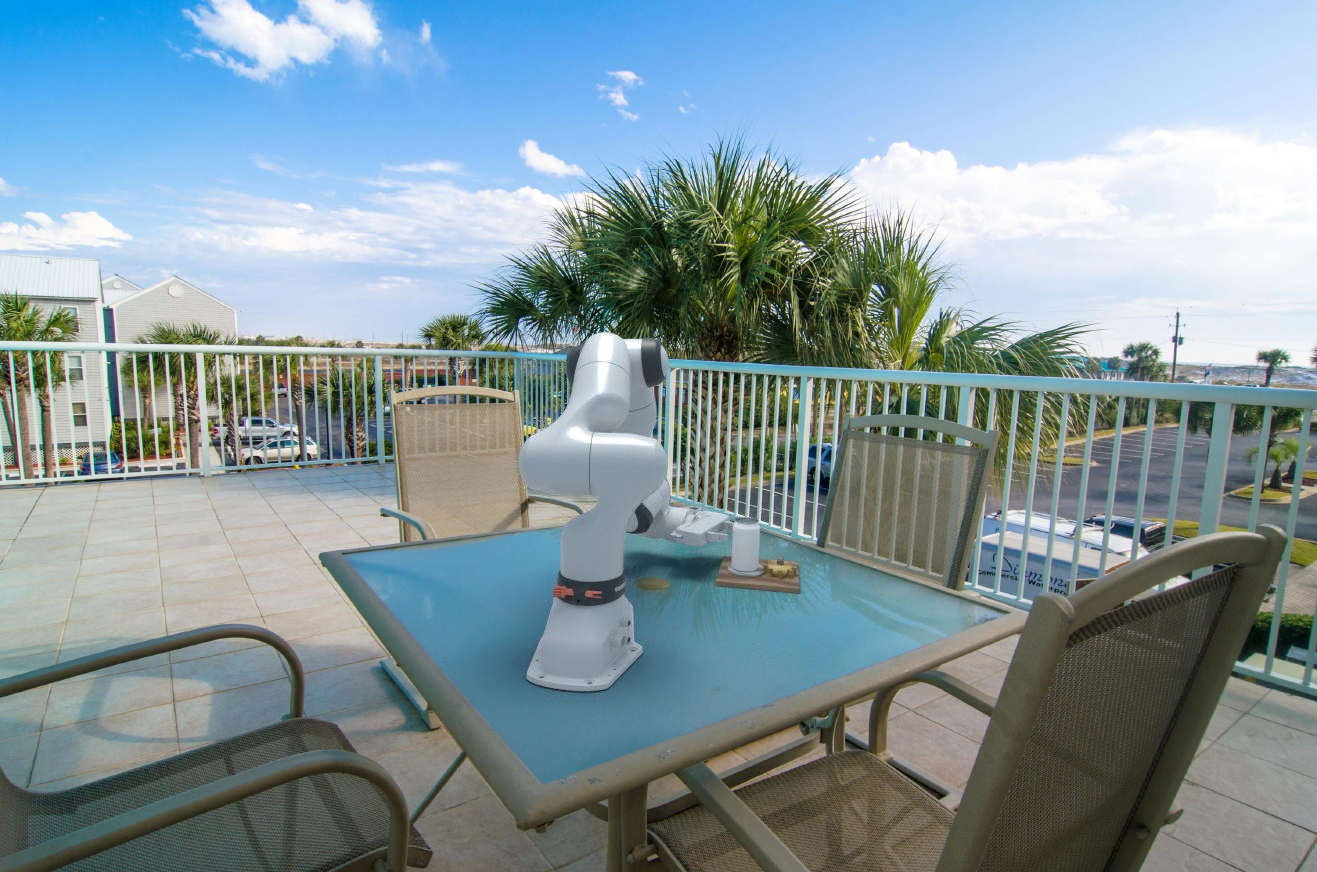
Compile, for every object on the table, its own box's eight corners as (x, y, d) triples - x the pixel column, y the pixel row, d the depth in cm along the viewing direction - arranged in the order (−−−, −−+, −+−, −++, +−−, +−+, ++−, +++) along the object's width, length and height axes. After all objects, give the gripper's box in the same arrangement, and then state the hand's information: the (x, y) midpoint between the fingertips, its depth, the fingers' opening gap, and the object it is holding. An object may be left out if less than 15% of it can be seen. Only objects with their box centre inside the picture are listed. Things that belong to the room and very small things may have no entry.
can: (759, 565, 159) (761, 517, 157) (757, 573, 153) (759, 524, 151) (733, 562, 160) (734, 515, 159) (729, 571, 154) (731, 521, 153)
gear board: (799, 593, 146) (800, 569, 145) (715, 585, 149) (716, 562, 149) (797, 566, 165) (798, 545, 165) (723, 560, 169) (724, 539, 168)
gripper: (665, 522, 154) (719, 530, 148) (698, 505, 172) (748, 512, 166) (664, 548, 154) (718, 557, 148) (697, 528, 173) (747, 536, 167)
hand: (734, 533), depth 157 cm, fingers open, 8 cm apart
